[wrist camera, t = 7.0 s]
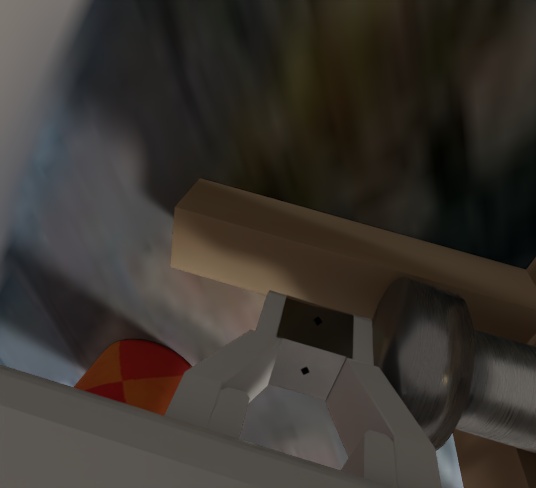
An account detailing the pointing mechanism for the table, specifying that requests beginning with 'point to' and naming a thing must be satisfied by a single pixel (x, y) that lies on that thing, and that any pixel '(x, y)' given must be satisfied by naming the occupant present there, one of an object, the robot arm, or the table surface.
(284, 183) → the table surface
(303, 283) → the block
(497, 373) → the pin
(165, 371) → the paper cup
